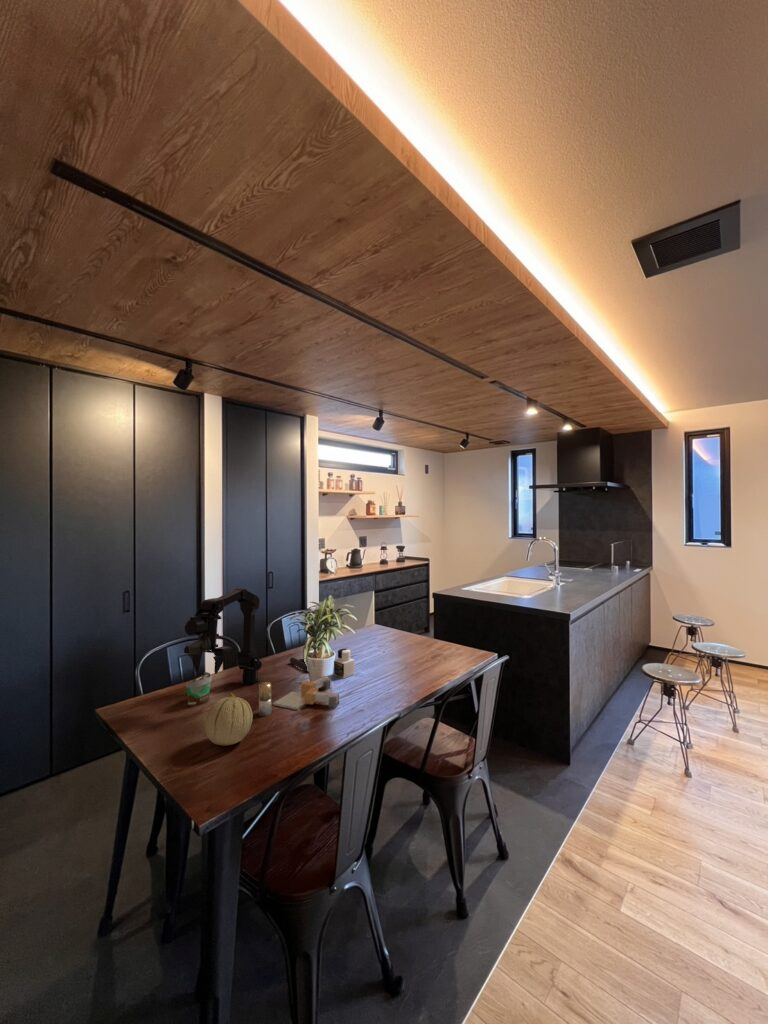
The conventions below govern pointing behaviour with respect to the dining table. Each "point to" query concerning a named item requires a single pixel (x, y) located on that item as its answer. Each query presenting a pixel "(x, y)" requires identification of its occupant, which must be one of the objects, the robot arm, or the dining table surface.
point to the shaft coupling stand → (309, 695)
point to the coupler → (265, 699)
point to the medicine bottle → (344, 664)
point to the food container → (199, 690)
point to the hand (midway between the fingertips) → (206, 672)
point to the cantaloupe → (228, 720)
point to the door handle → (299, 663)
